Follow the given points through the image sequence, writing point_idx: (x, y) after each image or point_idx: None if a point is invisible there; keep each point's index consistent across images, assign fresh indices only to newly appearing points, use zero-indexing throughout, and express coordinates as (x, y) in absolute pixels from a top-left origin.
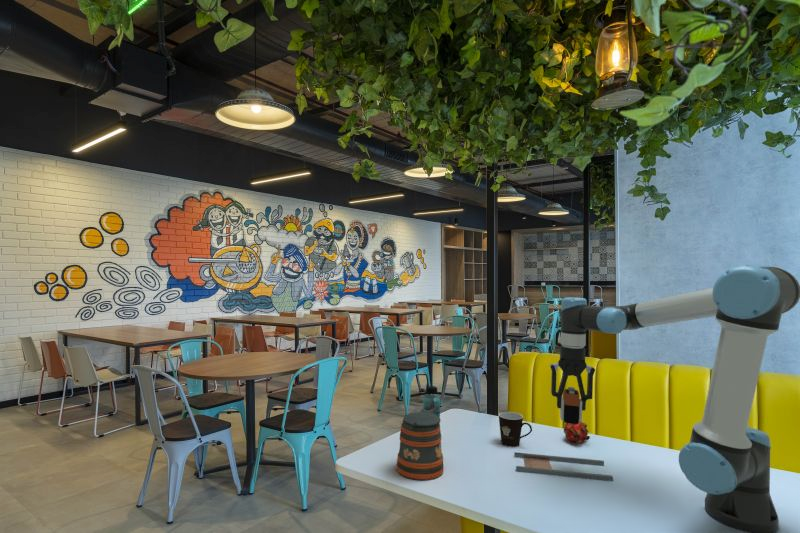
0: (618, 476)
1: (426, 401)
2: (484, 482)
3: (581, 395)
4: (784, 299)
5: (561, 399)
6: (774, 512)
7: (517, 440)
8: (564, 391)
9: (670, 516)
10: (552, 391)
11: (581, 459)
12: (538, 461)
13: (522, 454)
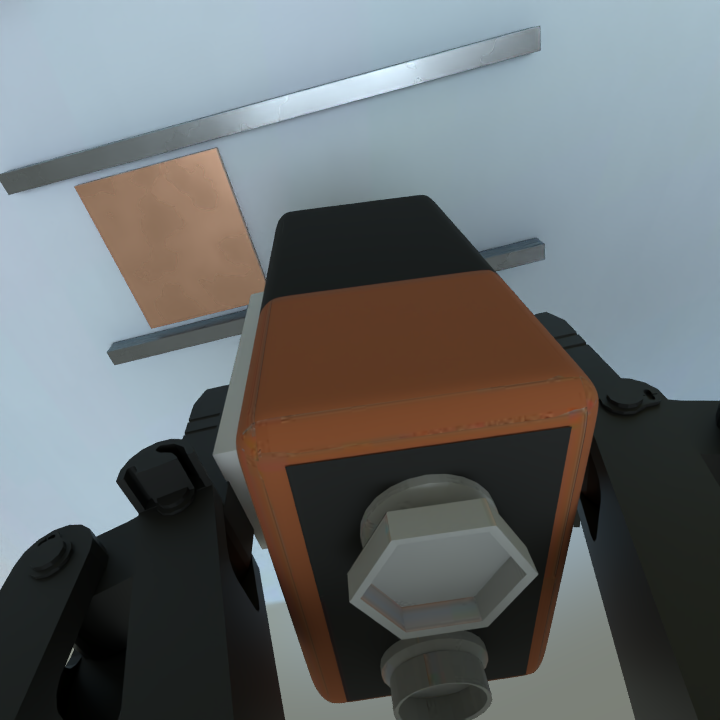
0: (577, 182)
1: None
2: (70, 486)
3: (595, 561)
4: None
5: (258, 533)
6: None
7: None
8: (279, 580)
9: None
10: (83, 697)
11: (403, 81)
12: (170, 207)
13: (55, 181)
